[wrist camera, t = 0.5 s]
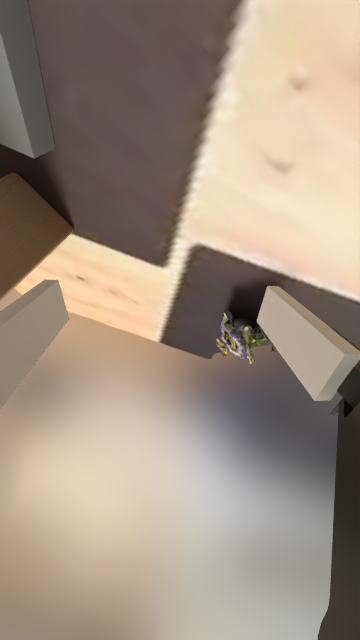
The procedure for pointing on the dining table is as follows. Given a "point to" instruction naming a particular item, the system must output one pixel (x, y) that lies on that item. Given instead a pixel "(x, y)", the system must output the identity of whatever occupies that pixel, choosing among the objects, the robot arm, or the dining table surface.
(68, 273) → the dining table surface
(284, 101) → the dining table surface
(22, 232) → the wooden block
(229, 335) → the passion flower
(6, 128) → the plinth
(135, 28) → the dining table surface
